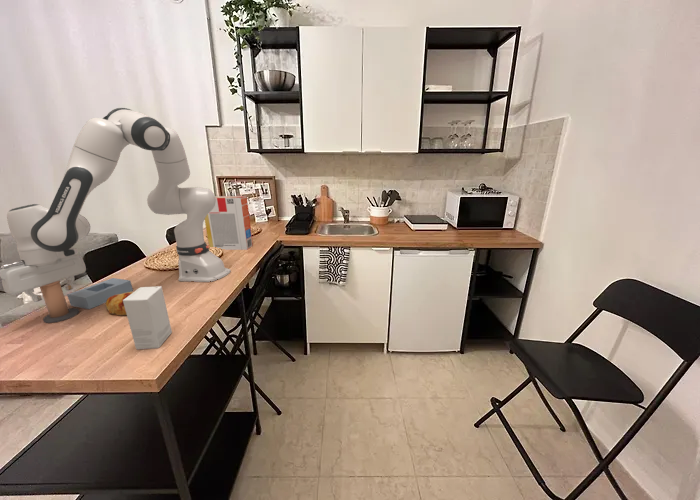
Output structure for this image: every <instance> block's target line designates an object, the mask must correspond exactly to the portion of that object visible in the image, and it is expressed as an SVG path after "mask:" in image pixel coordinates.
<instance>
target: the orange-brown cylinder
mask: <svg viewBox="0 0 700 500" xmlns="http://www.w3.org/2000/svg"><path fill="white" fill-rule="evenodd" d="M39 288H40V289H39V290H40V291H41V296H42V297H43V298H42V299H43V302H44V304H45V306H46V309H47V312H48V315H50V317H51V318H56V317H60V316H64V315H66V314H68V313H69V309H68V308H69V307H68V304H67V301H66V298H65V295H64V294H65V293H64V291H63V288H62V286H61V280H60V281H56V282H53V283H50V284H47V285H44V286H41V287H39Z"/></svg>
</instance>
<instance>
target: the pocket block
mask: <svg viewBox="0 0 700 500" xmlns="http://www.w3.org/2000/svg"><path fill="white" fill-rule="evenodd" d="M131 281H132V280H129V279H121V278H117V277H111V278H109V279H106V280H103V281H101V282H97V283H95V284H92V285H89V286H86V287H84V288H82V289H78V290H76V291H73V292H71V293H68V294H66V296H67V299H68V302H69V305H70V307H74V308H81V309H86V310H91V309H94V308H96V307H99V306H101V305H103V304H106V301H107V299H108V298H109V297H111V296H114V295H117V294H123V293H127V292H134V289H133V285H132V282H131Z"/></svg>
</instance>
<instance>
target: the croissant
mask: <svg viewBox="0 0 700 500" xmlns="http://www.w3.org/2000/svg"><path fill="white" fill-rule="evenodd" d="M133 292H134V291H131V292H127V293H123V294H117V295H114V296H111V297H109V298H108V299H107V301H106V302H105V307H106V310H107V311H108V313H109V314H111V315H112V314H113V315H117V316H127V314H126V310H125V307H124V303H123V300H124V299H125V298H127V297H128V296H129V295H131V294H132V293H133Z"/></svg>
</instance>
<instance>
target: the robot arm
mask: <svg viewBox="0 0 700 500" xmlns="http://www.w3.org/2000/svg"><path fill="white" fill-rule="evenodd" d="M128 145H133V146H136V147H139V148H141V149H143V150H146V151H151V153H152V157H153V161H154V164H155V167H156V170H157V171H156V172H157V175H158V181H157V184H156V186H155V188H154V189H153V190H151V191H149V193H148V195H147V198H146V201H147V206H148V208H149V209H150V210H151V212H152V213H154V214H157V215H163V216H164V215H165V216H166V215H167V216H170V215H171V216H172V215H186V219H185V220H183V221H181V222H180V223H177V225H175V227H174V229H173V233H174V237H175V241H176V242H175V243H176V246H175V248H176V253H177V255H178V263H177V264H178V273H179V274H178V281H179V282H191V281H194V282H199V283H210V281H211V282H214V281H217V279H218V280H220V279H222V278H224V277H226V276H228V275H229V274H230V273H231V272H232V271H231V269H230V268H227V267H225V264H224V262H223V260H222V259H221V258H220V257H219V256H217V255H216V254H214V253H213V252H212V251H210V247H209V246H210V245H209V244H208V245H207V242H206V241H205V236H204V223H205V217H206V216H207V214H208V213H209V212H210V211H211V210H212V209H213V208H214V206H215V204H216V198H215V196H216V195H215V194H214V192H213V191H212V190H211V189H210V188H208V187H200V186H195V187H193V186H191V187H178V186H180V185H181V184H183V183H185V182H186V181H187V180H188V179H189V178H190V177H191V176H190V175H191V170H190V165H189V162H188V157H187V155H186V152H185V151H186V150H185V148H184V145H183V142H182V140H181V138H180V136H179V134H178V132H177V131H176V130H174V129H173V128H171V127H167V126H164V125H163V124H162V123H161V122H159V121H158V120H157V119H155V118H153V117H151V116H149V115H146V114H145V113H142V112H140V111H135V110H133V109H130V108H125V107H118V108H114V109H112V110H111V111H109V112H108V113H107V114H106V115H105V116H103V118H101V117H92V118H89V119H88V120H87V121H86V122H85V124H84V125H83V127H82V128H81V130H80V132H79V133H78V135H77V137H76V139H75V142H74V144H73V147H72V150H71V152H70V155H69V159H68V163H67V166H66V169H65V173H64V175H63V178H62V181H61V183H60V185H59V187H58V188H57V191H56V194H55V196H54V198H53V200H52V202H51V205H50V207H46V206H44V205H41V204H37V203H34V204H28V205H23V206H19V207H15V208H11V209H9V210H8V212H7V214H6V221H7V225H8V228H9V232H10V234H11V235H10V236H12V238H13V240H14V241H15V243H16V250H17V253H18V255H19V259H20V260H18V261H14V262H11V263H6V264H3V265H2V266H0V280H1V284H2V287H3V288H2V289H3V291H4V293H7V294H9V295H13V296H14V295H19V294H21V293H25V294H26V296H27V295H28V296H30V297H31V300H32V301H33V302H34V303H37V302H40V301H42V300H43V298H42V294H35V289H37V288H40V287H41V286H44V285H47V284H50V283H53V282H56V281H60V282H61V281H62V280H63V281H64V280H67V282H66V284H65V285H63V287H64V289H65V291H71V290H74V286H73V284H74V282H75V279H76V278H75V276H78V275H81V274H85V272H86V271H87V268H86V264H85V262H84V259H83V257H82V256H81V255H80V254H79V250H78V248H74V246H75V245H76V244H77V243H79V242H80V241H81V240H82V239H84V238H86V236H88V235H89V234H90V231H91V224H90V222H89V220H88V218H86V217H84V216H83V215H82V214H80V213H81V211H82V208H83V206H84V204H85V202H86V199H87V198H88V196H89V195H90V194H91V192H93V191H94V190H95V189H96V188H98V187H99V186H100V185H101V184H103V183H105V182H106V181H107V180H108V179H109V178H110V177H111V176H112V174H113V173H114V171H115V169H116V167H117V165H118V162H119V159H120V157H121V154H122V151H123V150H124V149H125V148H126V147H127V146H128Z"/></svg>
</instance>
